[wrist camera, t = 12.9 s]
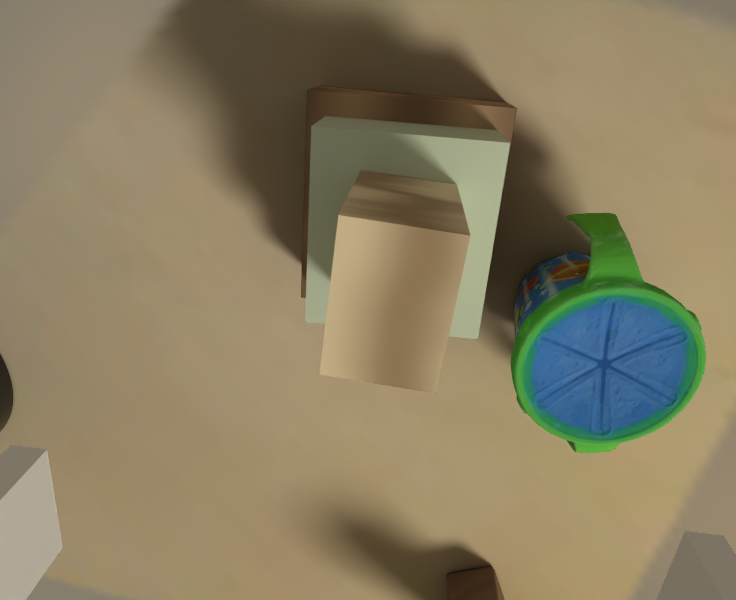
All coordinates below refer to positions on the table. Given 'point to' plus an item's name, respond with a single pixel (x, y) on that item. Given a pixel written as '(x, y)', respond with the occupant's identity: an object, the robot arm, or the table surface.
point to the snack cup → (602, 345)
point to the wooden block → (474, 585)
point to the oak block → (394, 281)
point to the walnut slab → (398, 110)
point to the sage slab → (412, 159)
